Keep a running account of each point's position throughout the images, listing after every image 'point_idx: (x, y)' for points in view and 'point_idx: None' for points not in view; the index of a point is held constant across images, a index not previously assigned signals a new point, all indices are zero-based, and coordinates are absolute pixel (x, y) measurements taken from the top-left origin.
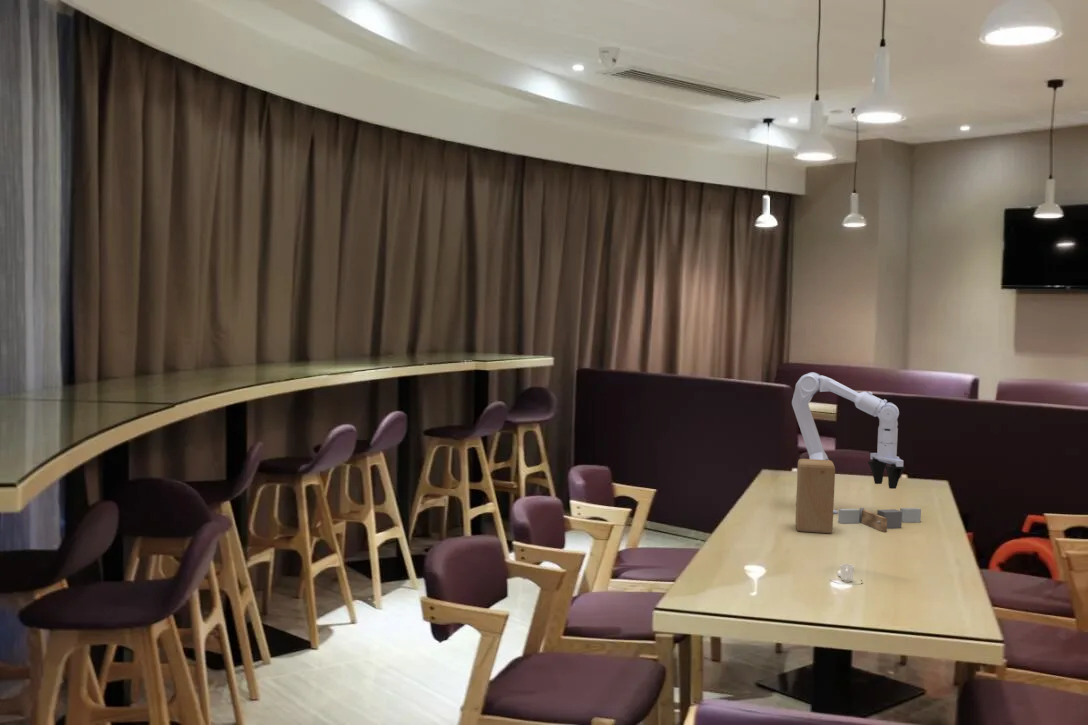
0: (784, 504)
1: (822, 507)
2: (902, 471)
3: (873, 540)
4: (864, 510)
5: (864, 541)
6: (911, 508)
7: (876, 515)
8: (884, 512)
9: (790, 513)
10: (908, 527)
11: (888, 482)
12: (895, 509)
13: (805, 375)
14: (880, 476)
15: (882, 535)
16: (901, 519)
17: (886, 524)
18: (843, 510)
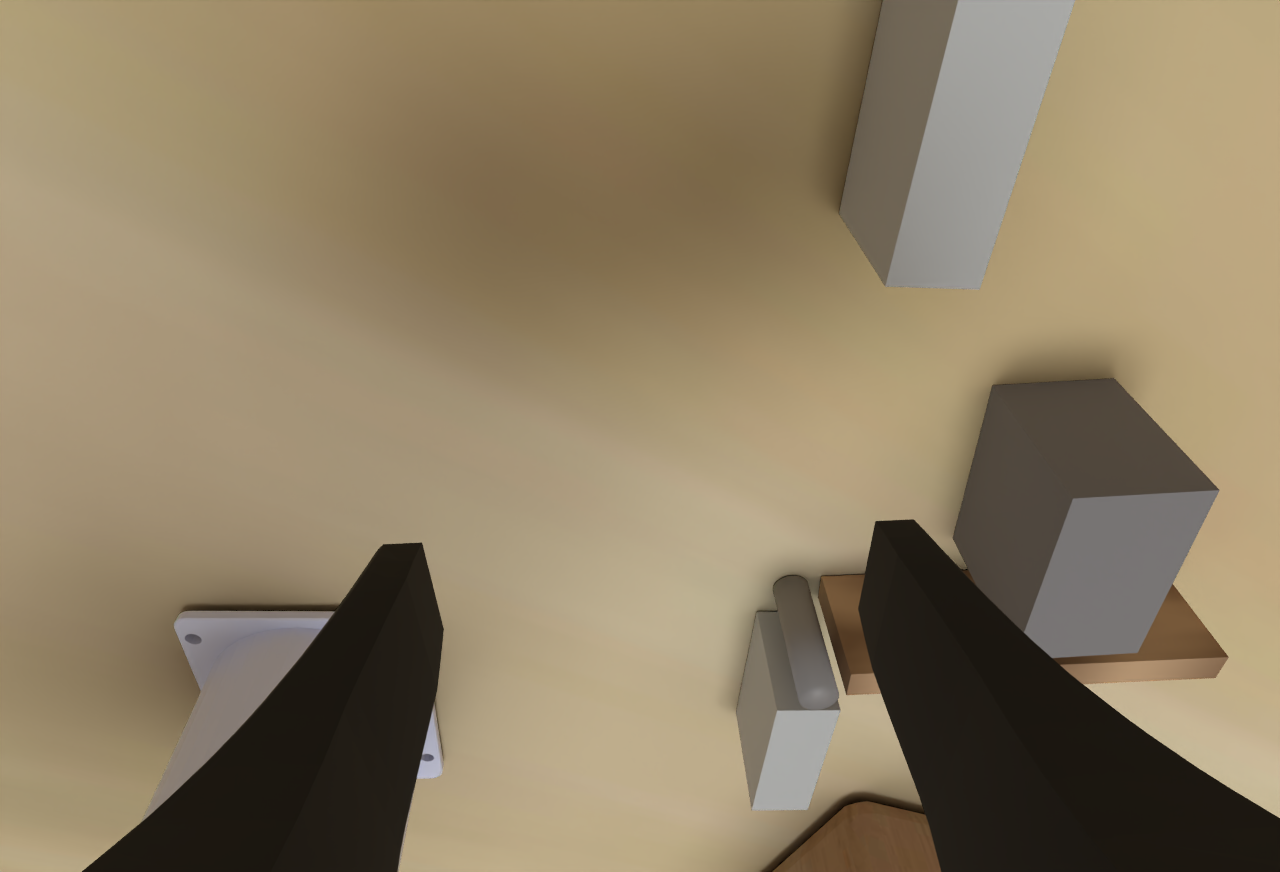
0: (81, 795)
1: None
2: (1267, 827)
3: (1273, 720)
4: (867, 685)
5: (1255, 763)
6: (972, 123)
7: (1086, 681)
8: (1137, 652)
9: (422, 839)
10: (1131, 292)
11: (895, 716)
12: (1086, 498)
13: None
14: (389, 687)
15: (1214, 627)
16: (1163, 434)
17: (1191, 614)
18: (810, 800)
